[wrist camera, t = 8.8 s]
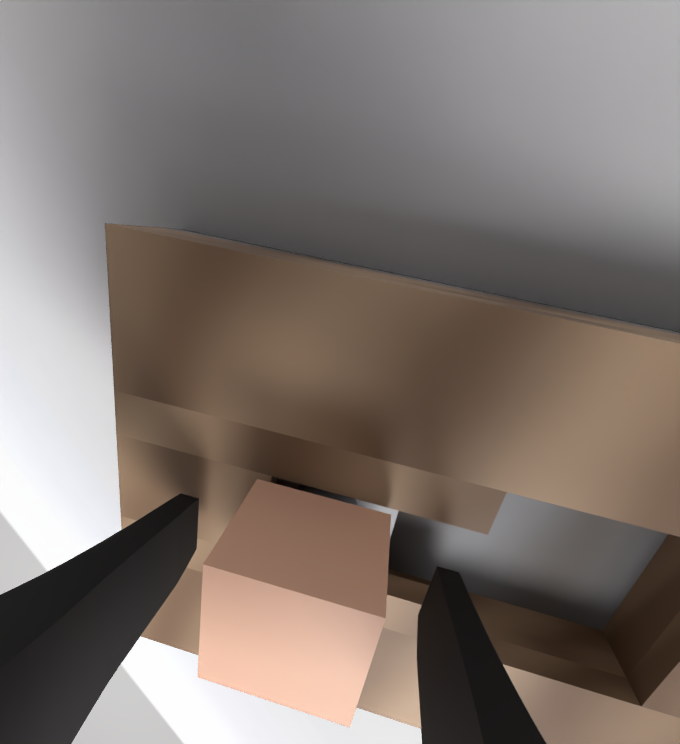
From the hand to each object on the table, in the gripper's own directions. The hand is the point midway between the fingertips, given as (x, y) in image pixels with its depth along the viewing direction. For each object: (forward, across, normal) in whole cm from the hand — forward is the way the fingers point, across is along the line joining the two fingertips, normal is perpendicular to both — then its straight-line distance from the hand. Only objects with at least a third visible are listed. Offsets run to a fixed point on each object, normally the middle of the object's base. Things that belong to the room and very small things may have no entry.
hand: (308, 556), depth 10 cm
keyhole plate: (+4, -3, 0) cm, 5 cm away
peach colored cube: (+3, 0, 0) cm, 3 cm away
